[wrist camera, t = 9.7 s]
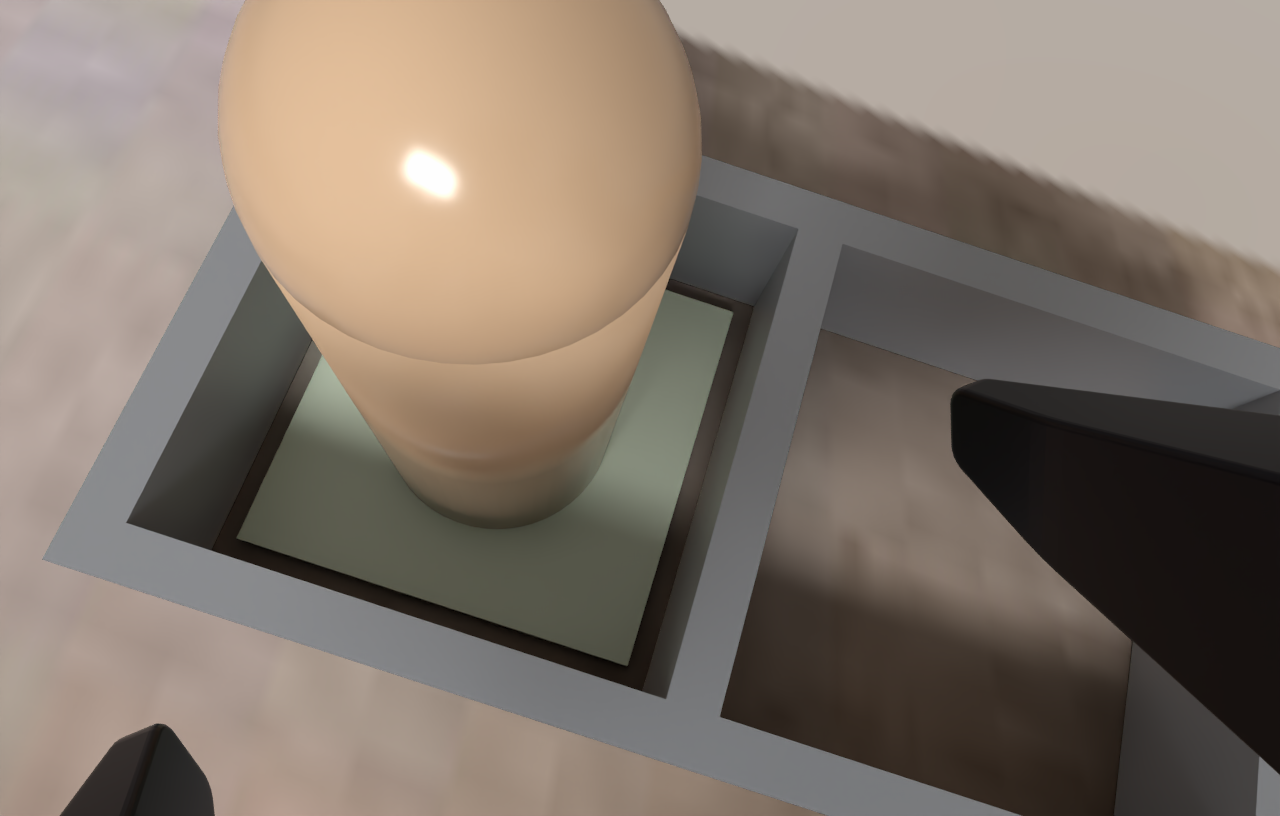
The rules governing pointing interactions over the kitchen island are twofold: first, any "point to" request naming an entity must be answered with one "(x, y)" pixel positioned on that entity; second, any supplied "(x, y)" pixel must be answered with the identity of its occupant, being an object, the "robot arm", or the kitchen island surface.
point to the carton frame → (636, 490)
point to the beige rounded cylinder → (468, 220)
